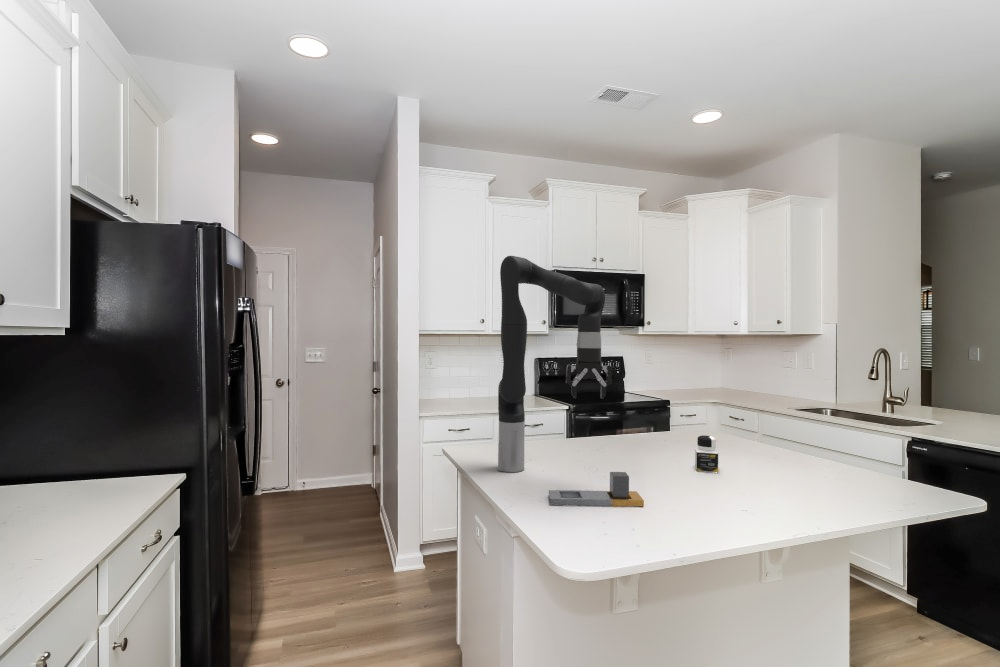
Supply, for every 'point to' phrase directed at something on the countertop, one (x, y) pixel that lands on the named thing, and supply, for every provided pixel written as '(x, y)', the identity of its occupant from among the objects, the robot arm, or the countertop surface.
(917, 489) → the countertop surface
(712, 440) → the medicine bottle
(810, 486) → the countertop surface
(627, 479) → the grey rectangular block
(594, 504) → the rail
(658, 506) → the countertop surface
